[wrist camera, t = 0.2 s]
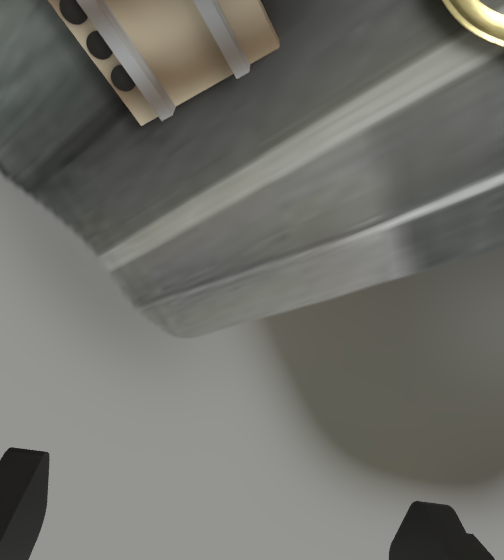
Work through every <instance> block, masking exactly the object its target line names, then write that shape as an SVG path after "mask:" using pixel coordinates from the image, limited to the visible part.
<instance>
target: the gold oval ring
mask: <svg viewBox="0 0 504 560" xmlns="http://www.w3.org/2000/svg"><path fill="white" fill-rule="evenodd" d="M441 1H442V3H443V4H444V6H445V7H446V9H447V10H448V11H449V13H450V14H451V15H452V16H453V17H454V18H455V20H456V21H457V22H459V23H460V24H461V25H462V26H463V27H464V28H465V29H467V30H468V31H470V32H471V33H472V34H474V35H475V36H477V37H479V38H481V39H483V40H485V41H487V42H490V43H492V44H495V45H497V46H500V47H503V48H504V15H502V14H500V13H497V12H495V11H493V10H492V9H490V8H488V7H486V6H485V5H484V4H482V3H481V2H479V1H478V0H441Z"/></svg>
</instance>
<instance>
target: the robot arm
mask: <svg viewBox="0 0 504 560" xmlns="http://www.w3.org/2000/svg"><path fill="white" fill-rule="evenodd" d="M48 476H49V453H48V452H43V451H35V450H27V449H19V448H9V449H8V450H7V451H6V452H5V454H4V455H3V457H2V458H1V460H0V560H28V559H29V557H30V555H31V552H32V550H33V547H34V545H35V543H36V540H37V538H38V535H39V533H40V530H41V527H42V524H43V520H44V516H45V512H46V507H47V494H48ZM389 560H495V559H494V557H493V556H492V555H491V554H490V553H489V552H488V551H487V549H486V548H485V547H484V546H483V545H482V544H481V543H480V542H479V541H478V539H477V538H476V537H475V536H474V535H473V534H468V533H466V531H465V529H464V528H463V526H462V524H461V522H460V520H459V518H458V516H457V514H456V512H455V511H454V509H453V508H452V507H450V506H448V505H443V504H436V503H428V502H420V501H416V502H413V503H412V504H411V506H410V508H409V510H408V512H407V514H406V516H405V518H404V520H403V521H402V523H401V525H400V528H399V529H398V532H397V533H396V535H395V538H394V539H393V541H392V543H391V546H390V551H389Z"/></svg>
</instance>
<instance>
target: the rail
mask: <svg viewBox="0 0 504 560" xmlns="http://www.w3.org/2000/svg"><path fill="white" fill-rule="evenodd" d="M48 1H49V3H50V4H51V5H52V7H53V8H54V9H55V11H56V12H57V13H58V15H59V16H60V17H61V19H62V20H63V21H64V23H65V24H66V25H67V27H68V28H69V29H70V31H71V32H72V34H73V35H74V36H75V38H76V39H77V40H78V42H79V43H80V44H81V46H82V47H83V48H84V50H85V51H86V52H87V54H88V55H89V56H90V58H91V59H92V60H93V62H94V63H95V64H96V66H97V67H98V68H99V70H100V71H101V72H102V74H103V75H104V76H105V78H106V79H107V81H108V82H109V83H110V85H111V86H112V87H113V89H114V90H115V91H116V93H117V94H118V95H119V97H120V98H121V99H122V101H123V102H124V103H125V105H126V106H127V107H128V109H129V110H130V111H131V113H132V114H133V115H134V117H135V118H136V119H137V121H138V122H139V124H140V125H141V126H142V125H144V124H146V123H148V122H150V121H151V120H153V119H155V118H157V117H159V118H160V119H161V121H163V120H165V119H167V118H168V117H170V116H172V115H173V113H174V110H175V108H176V106H178V105H179V104H181V103H183V102H185V101H186V100H188V99H190V98H192V97H193V96H195V95H197V94H199V93H201V92H202V91H204V90H206V89H208V88H209V87H211V86H213V85H215V84H216V83H218V82H220V81H222V80H223V79H225V78H227V77H229V76H230V75H232V74H234V75H235V77H236V79H238V78H240V77H241V76H243V75H245V74H247V73H249V72H250V64H252V63H253V62H255V61H257V60H259V59H260V58H262V57H264V56H266V55H267V54H269V53H271V52H273V51H274V50H276V49H278V48H280V43H279V39H278V36H277V34H276V32H275V30H274V28H273V26H272V24H271V21H270V19H269V17H268V15H267V13H266V11H265V9H264V6H263V4H262V2H261V0H48Z"/></svg>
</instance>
